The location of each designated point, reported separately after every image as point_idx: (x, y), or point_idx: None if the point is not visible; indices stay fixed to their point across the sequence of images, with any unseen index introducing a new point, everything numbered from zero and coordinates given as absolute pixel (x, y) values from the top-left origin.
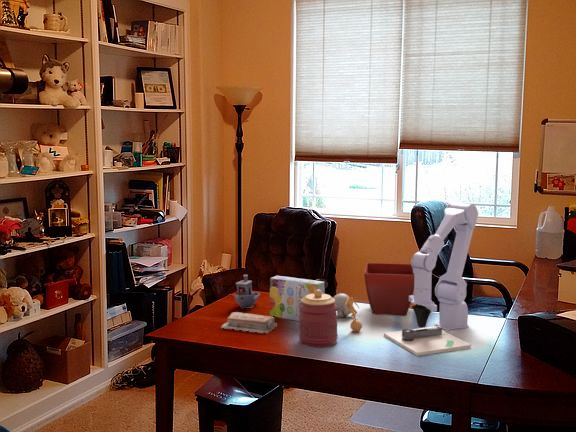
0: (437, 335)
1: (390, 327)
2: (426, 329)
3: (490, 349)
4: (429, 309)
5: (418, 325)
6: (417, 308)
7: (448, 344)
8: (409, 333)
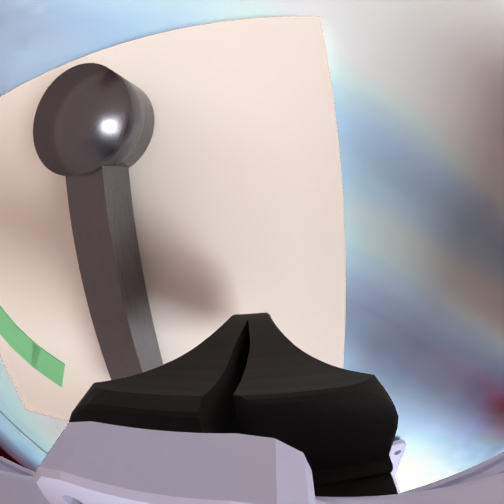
0: None
1: (475, 172)
2: (108, 314)
3: (30, 437)
4: (24, 468)
5: (260, 314)
6: (115, 406)
7: (11, 330)
8: (39, 116)
